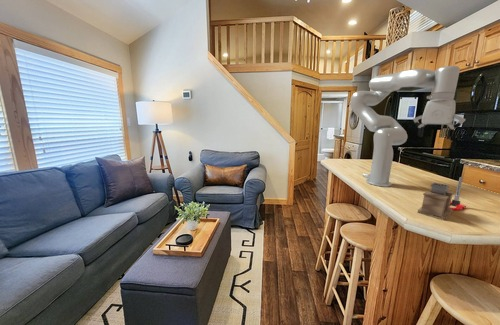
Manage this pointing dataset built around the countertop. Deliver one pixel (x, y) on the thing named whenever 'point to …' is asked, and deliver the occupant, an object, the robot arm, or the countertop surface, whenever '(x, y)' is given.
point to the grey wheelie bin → (439, 188)
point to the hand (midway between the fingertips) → (433, 137)
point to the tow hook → (457, 198)
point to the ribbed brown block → (436, 205)
